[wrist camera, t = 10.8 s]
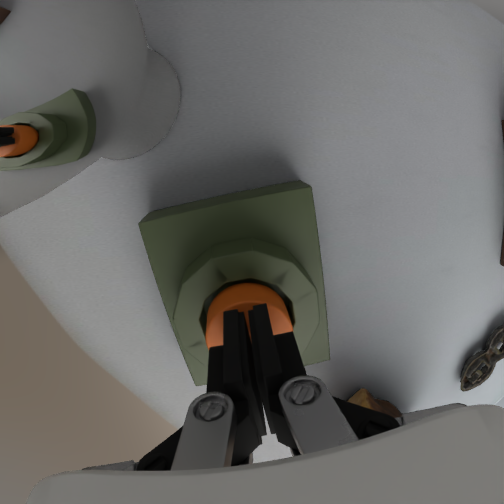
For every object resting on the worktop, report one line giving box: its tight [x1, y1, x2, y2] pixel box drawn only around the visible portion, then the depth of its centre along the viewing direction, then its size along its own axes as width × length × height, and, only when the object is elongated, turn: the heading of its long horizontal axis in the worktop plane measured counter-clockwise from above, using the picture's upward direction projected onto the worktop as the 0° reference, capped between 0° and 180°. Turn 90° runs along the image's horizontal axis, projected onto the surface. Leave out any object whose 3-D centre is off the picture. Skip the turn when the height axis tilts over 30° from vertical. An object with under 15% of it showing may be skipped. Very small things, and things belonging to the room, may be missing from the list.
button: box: [205, 283, 293, 350], centre depth 13 cm, size 4×4×2 cm
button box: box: [138, 180, 330, 386], centre depth 16 cm, size 10×8×4 cm
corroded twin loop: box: [460, 325, 504, 391], centre depth 21 cm, size 5×8×1 cm, turn 144°
